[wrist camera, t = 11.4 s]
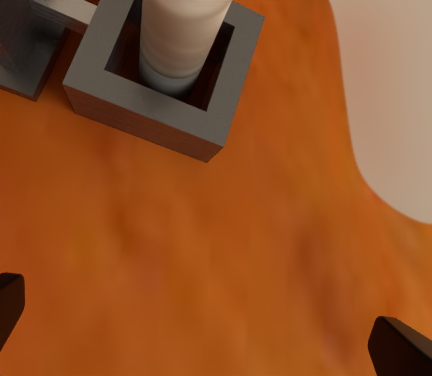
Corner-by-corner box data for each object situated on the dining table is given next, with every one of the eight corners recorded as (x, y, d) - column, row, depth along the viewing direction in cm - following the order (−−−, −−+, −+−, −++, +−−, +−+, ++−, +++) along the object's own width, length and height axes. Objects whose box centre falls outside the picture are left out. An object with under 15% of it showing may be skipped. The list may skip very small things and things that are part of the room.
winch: (205, 165, 21) (234, 139, 15) (-183, 20, 17) (-343, -92, 11) (243, 50, 23) (280, -11, 17) (-96, -107, 19) (-195, -258, 13)
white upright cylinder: (164, 117, 21) (229, -89, 8) (126, 75, 21) (121, -217, 7) (203, 85, 22) (320, -146, 9) (167, 45, 22) (230, -260, 8)
